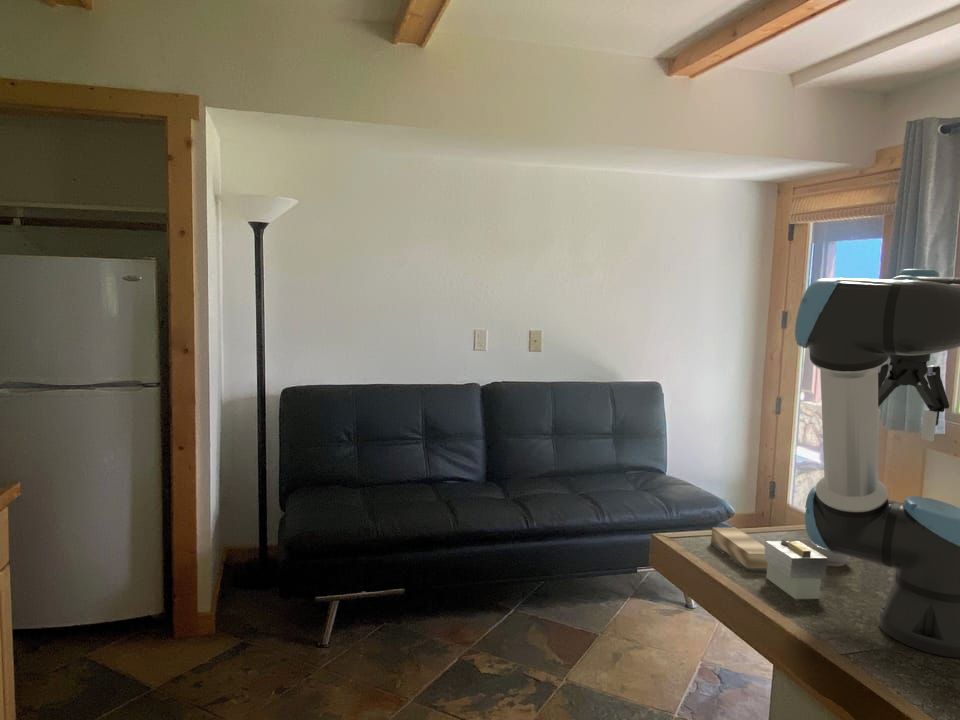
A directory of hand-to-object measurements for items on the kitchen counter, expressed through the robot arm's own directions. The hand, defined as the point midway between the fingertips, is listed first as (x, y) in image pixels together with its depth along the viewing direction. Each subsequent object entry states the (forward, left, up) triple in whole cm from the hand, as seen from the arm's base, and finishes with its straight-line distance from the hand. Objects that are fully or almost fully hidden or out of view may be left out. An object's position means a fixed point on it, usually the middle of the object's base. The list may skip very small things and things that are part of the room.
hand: (899, 439), depth 150 cm
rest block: (-10, +29, -29) cm, 42 cm away
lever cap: (-10, +29, -25) cm, 39 cm away
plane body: (+6, +31, -29) cm, 43 cm away
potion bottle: (+4, +11, -29) cm, 31 cm away
